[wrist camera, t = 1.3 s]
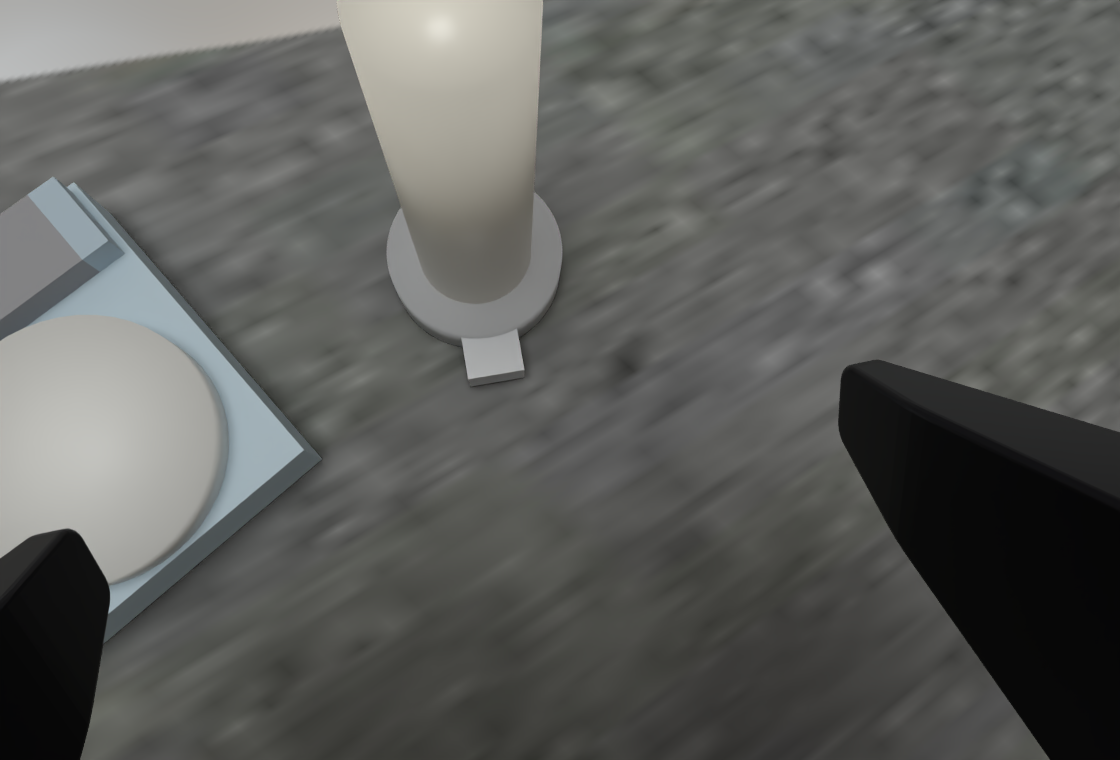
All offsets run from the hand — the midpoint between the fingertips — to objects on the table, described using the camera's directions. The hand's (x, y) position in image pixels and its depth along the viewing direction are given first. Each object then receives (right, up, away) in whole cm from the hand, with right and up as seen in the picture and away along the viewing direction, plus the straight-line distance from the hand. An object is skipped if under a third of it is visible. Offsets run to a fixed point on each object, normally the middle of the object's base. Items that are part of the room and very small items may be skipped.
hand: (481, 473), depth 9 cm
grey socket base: (-12, 0, +13) cm, 18 cm away
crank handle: (-2, +5, +15) cm, 16 cm away
